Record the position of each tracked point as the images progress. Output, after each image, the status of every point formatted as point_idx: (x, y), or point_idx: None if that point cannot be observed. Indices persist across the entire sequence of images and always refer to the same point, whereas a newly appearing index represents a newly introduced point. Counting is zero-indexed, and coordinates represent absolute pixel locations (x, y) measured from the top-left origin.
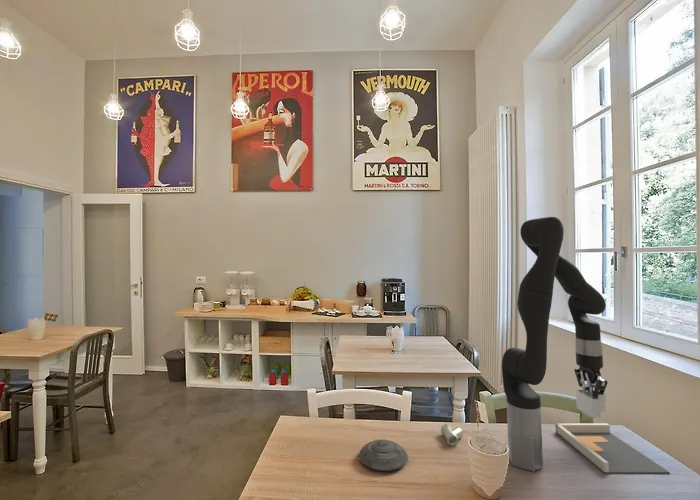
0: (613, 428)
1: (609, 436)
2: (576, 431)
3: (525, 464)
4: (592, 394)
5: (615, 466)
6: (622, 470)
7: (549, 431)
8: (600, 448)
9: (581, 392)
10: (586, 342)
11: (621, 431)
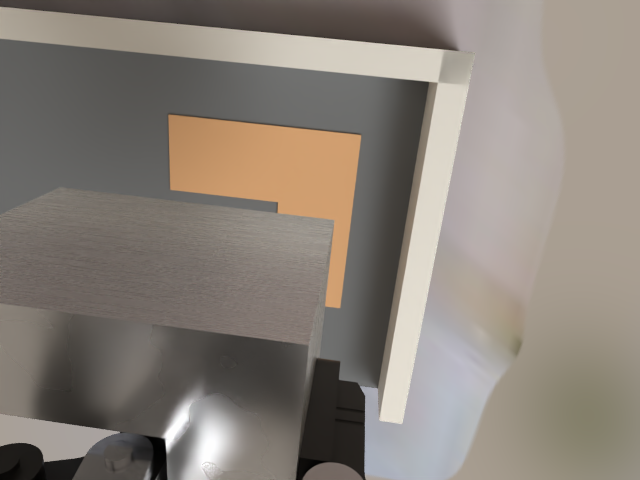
0: (434, 446)
1: (335, 350)
2: (410, 196)
3: None
4: (105, 443)
5: (6, 119)
6: None
7: (483, 8)
8: (197, 189)
9: (171, 340)
10: None
11: (395, 455)
